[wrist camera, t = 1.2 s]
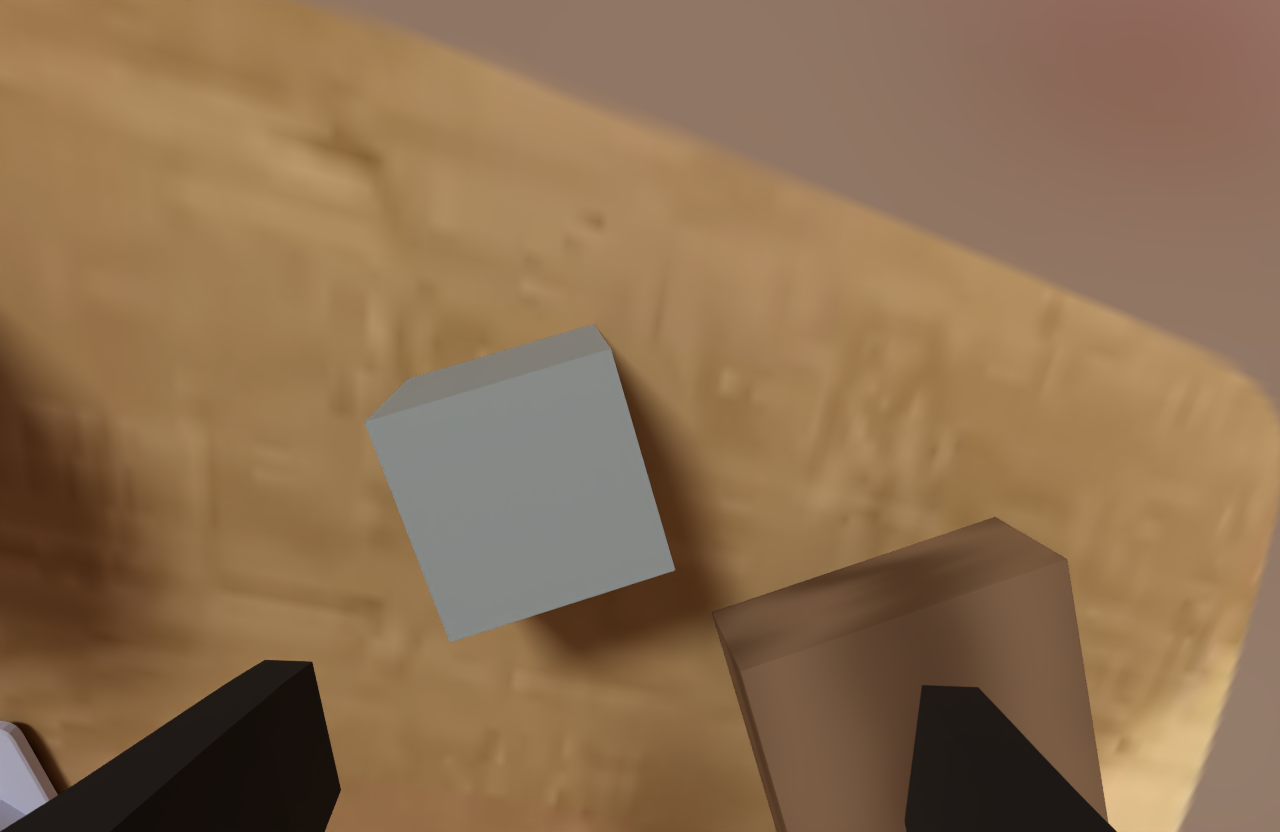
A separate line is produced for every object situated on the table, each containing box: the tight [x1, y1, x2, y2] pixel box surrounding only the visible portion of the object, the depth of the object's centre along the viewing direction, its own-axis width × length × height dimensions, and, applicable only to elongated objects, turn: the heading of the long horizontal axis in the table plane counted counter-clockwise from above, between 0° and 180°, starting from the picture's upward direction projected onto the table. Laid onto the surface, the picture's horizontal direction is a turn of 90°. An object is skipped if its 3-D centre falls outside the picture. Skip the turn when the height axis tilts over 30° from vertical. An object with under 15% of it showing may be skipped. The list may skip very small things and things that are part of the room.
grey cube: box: [365, 324, 675, 642], centre depth 18 cm, size 5×5×5 cm
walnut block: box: [712, 517, 1108, 832], centre depth 22 cm, size 9×9×4 cm
